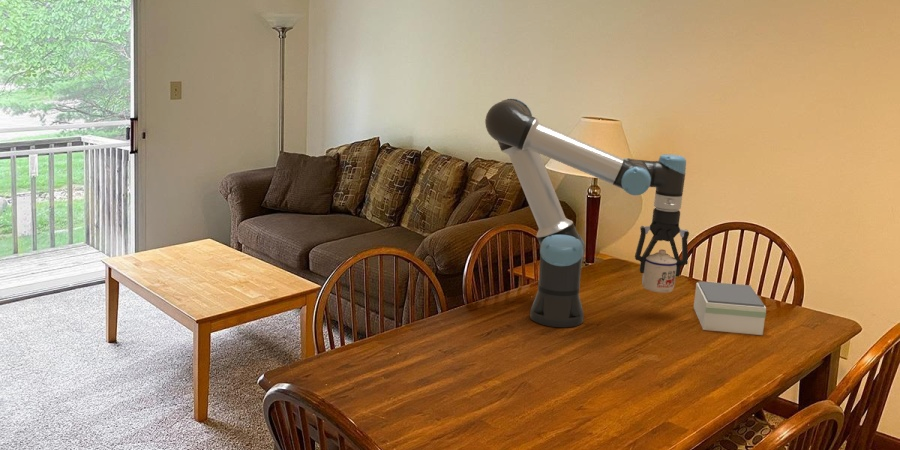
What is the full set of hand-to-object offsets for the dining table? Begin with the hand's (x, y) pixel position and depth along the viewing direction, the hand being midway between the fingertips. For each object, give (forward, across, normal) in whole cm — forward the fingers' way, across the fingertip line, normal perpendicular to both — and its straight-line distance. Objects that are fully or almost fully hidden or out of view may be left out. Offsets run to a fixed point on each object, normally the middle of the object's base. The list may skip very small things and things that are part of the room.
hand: (657, 284), depth 231 cm
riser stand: (+9, +21, 0) cm, 22 cm away
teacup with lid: (+1, +1, 0) cm, 1 cm away
